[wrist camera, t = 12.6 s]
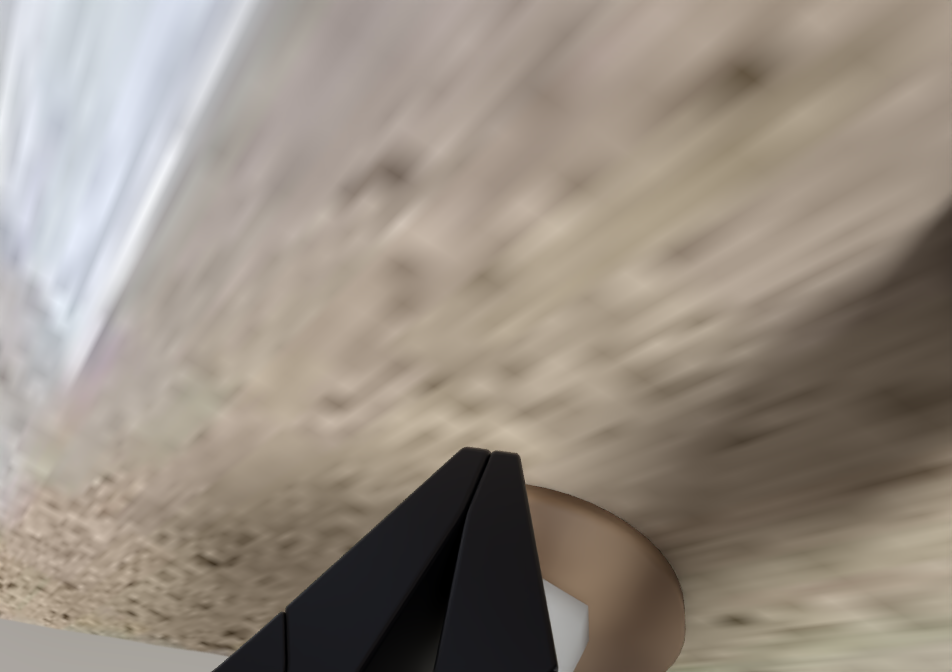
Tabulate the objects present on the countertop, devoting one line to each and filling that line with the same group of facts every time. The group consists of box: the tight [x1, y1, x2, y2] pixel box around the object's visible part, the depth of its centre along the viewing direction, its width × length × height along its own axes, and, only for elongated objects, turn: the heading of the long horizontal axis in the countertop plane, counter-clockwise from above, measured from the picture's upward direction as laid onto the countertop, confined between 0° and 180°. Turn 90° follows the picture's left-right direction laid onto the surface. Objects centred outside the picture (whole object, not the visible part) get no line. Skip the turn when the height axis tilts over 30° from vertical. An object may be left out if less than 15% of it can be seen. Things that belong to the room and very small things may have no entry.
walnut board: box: [525, 484, 686, 672], centre depth 31 cm, size 16×16×1 cm
